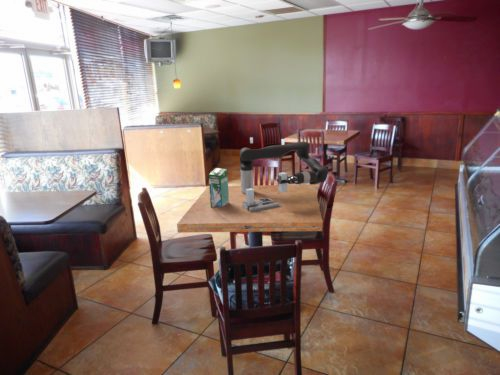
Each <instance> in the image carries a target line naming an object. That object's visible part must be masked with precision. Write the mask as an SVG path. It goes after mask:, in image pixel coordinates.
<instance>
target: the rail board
mask: <svg viewBox="0 0 500 375" xmlns="http://www.w3.org/2000/svg"><path fill="white" fill-rule="evenodd" d="M241 203H242V204H241V205H240V206H241V207H242V208H244V209H246V210H247V211H248V212H250V213H251V214H253V213H257V212H262V211H263V212H264V211H269V210H273V209H274V210H275V209H279V208H282V205H281V204H280V202H279V201H277V202H274V200H273V199H272V198H269V197H263V198H258V199H256V201H255V200H254V204H250V205H247V204H246V200H244V201H241Z"/></svg>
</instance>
